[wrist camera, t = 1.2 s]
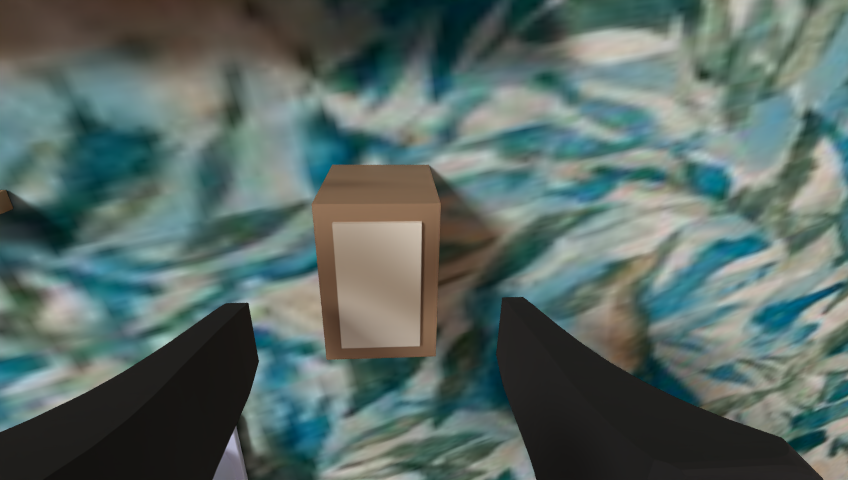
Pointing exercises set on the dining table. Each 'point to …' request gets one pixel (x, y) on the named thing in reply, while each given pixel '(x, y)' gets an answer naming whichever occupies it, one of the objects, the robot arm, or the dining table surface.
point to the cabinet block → (378, 260)
